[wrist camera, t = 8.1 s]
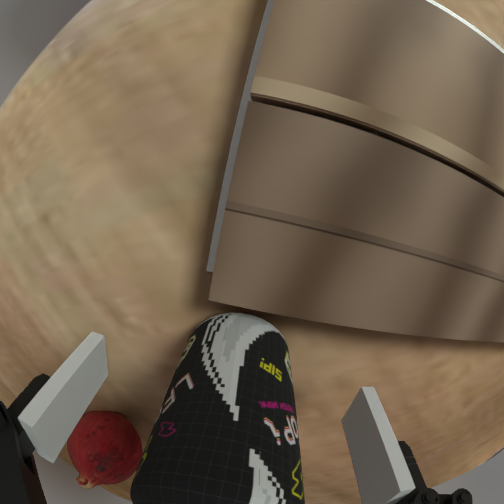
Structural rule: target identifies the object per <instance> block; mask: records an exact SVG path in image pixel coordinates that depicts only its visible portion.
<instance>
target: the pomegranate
mask: <svg viewBox="0 0 504 504" xmlns="http://www.w3.org/2000/svg"><path fill="white" fill-rule="evenodd" d="M67 445H68V452H69V455H70V458H71V460H72V462H73V464H74V466H75V467H76V469H77V470H78V472H79V477H78V478H77V479H76V480H77V481H78V483H79V485H80V486H81V487H82V488H85V489H91V488H93V487H95V486H97V485H100V484H115V483H119V482H122V481H124V480H126V479H128V478H129V477H130V476H131V475H132V474H133V473H134V472H135V471H136V470H137V469H138V466H139V463H140V461H141V458H142V455H143V452H142V444H141V439H140V437H139V435H138V433H137V431H136V430H135V428H134V427H133V425H132V424H131V423H130V422H129V421H128V420H127V419H126V418H125V417H124V416H123V415H122V414H120V413H117V412H110V411H91V412H88V413H85V414H83V415H82V417H81V418H80V420H79V422H78V423H77V425H76V426H75V428H74V430H73V431H72V433H71V435H70V436H69V438H68V442H67Z"/></svg>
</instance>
